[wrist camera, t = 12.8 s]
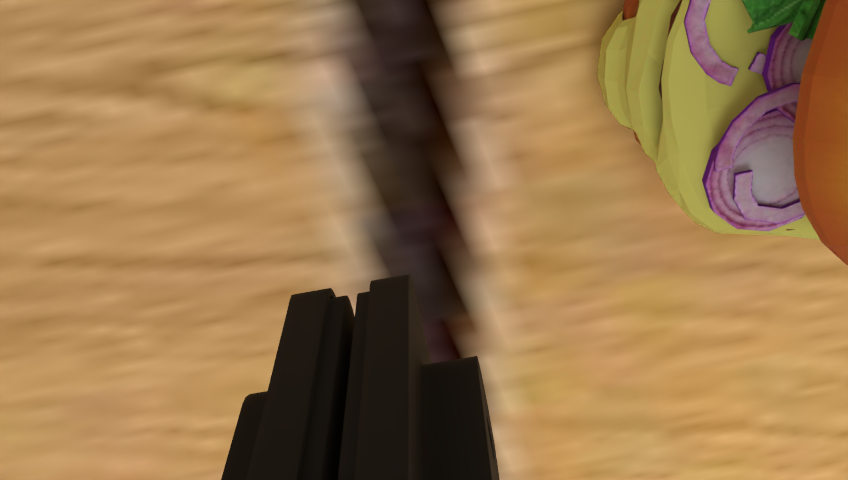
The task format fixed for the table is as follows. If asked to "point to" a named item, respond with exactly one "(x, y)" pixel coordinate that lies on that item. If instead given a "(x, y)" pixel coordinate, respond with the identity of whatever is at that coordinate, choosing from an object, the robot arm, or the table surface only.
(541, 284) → the table surface
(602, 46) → the cheeseburger
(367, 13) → the table surface
